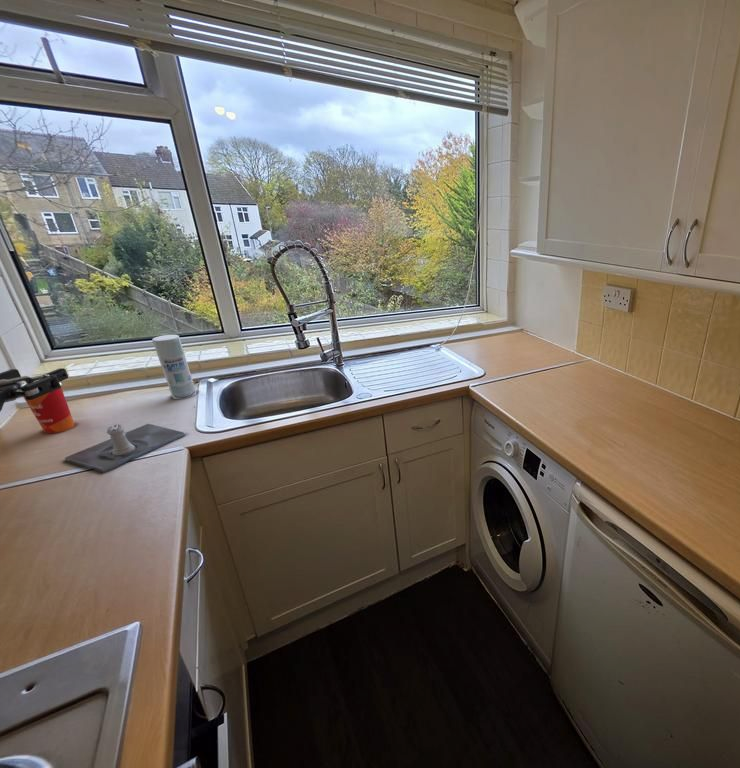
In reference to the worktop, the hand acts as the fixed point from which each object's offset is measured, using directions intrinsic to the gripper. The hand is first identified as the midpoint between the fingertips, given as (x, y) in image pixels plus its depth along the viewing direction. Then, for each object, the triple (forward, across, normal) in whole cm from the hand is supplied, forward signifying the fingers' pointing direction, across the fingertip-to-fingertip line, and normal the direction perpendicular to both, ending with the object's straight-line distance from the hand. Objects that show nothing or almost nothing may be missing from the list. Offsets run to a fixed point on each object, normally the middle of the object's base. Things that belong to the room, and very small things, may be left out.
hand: (41, 373), depth 81 cm
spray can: (+45, +7, +26) cm, 53 cm away
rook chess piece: (+10, 0, +26) cm, 28 cm away
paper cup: (+24, +26, +26) cm, 44 cm away
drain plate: (+13, +1, +26) cm, 29 cm away
